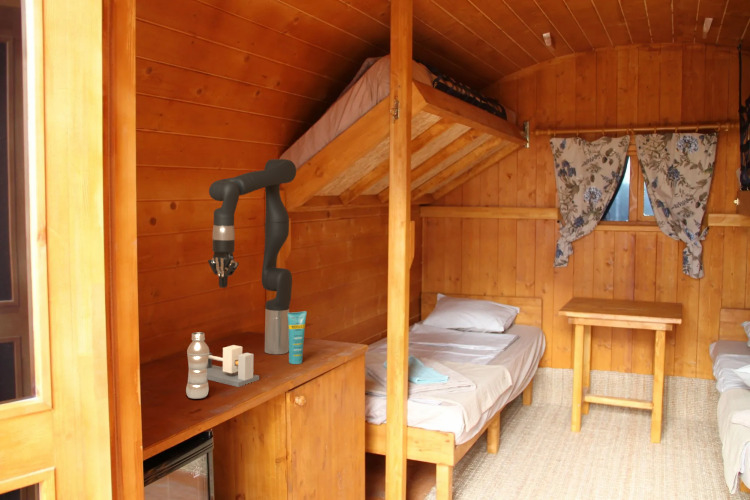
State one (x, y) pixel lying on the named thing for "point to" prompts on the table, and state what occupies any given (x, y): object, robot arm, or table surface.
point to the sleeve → (231, 358)
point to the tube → (296, 336)
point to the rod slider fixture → (235, 378)
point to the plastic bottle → (197, 367)
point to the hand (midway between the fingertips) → (223, 287)
